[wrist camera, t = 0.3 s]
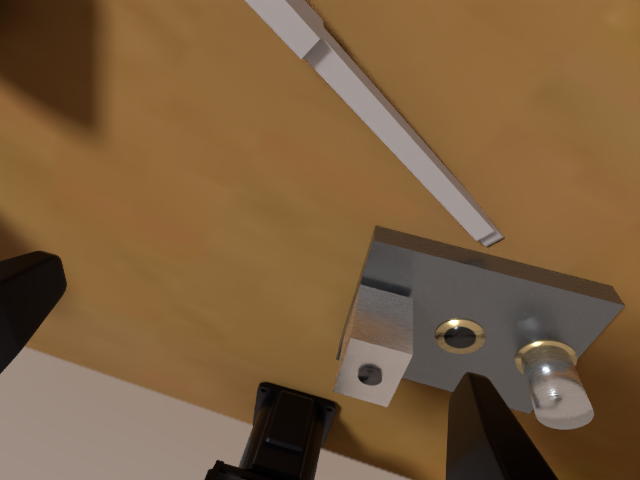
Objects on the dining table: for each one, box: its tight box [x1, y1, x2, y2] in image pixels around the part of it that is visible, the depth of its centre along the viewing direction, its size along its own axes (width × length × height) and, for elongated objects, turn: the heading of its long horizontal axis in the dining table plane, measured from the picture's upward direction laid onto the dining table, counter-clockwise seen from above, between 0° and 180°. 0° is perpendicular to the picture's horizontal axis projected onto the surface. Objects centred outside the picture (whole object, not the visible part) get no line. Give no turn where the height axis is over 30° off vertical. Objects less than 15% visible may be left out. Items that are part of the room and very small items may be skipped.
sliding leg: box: [333, 284, 413, 407], centre depth 21 cm, size 4×3×4 cm
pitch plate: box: [336, 226, 625, 430], centre depth 22 cm, size 10×13×5 cm
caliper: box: [245, 0, 504, 247], centre depth 15 cm, size 20×1×6 cm, turn 44°
